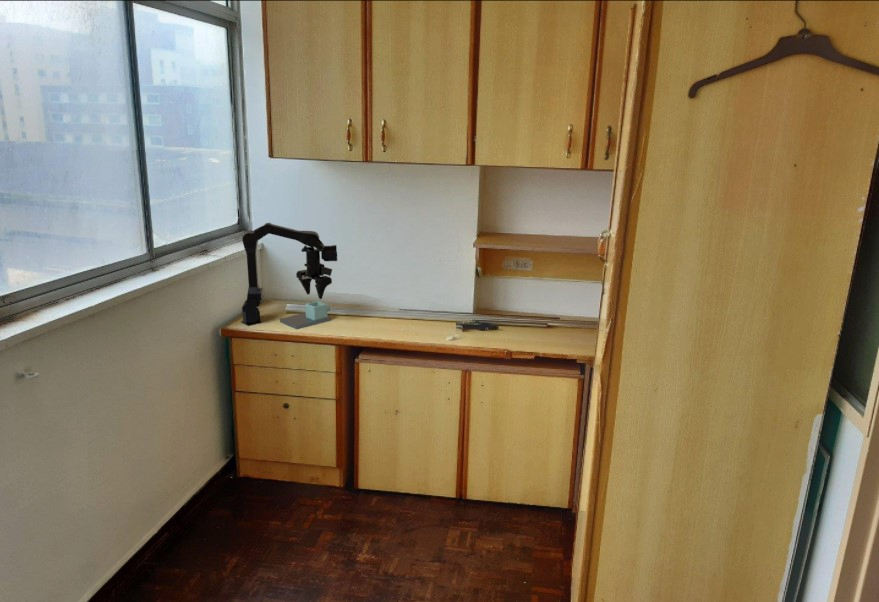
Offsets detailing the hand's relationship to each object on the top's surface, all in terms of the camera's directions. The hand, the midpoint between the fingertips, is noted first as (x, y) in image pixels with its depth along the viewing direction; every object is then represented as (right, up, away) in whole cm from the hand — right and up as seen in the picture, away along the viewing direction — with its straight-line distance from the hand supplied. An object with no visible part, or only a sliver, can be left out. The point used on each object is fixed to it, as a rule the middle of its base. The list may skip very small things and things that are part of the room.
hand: (314, 296), depth 278 cm
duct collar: (+2, -9, +4) cm, 10 cm away
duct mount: (-4, -11, +2) cm, 12 cm away
